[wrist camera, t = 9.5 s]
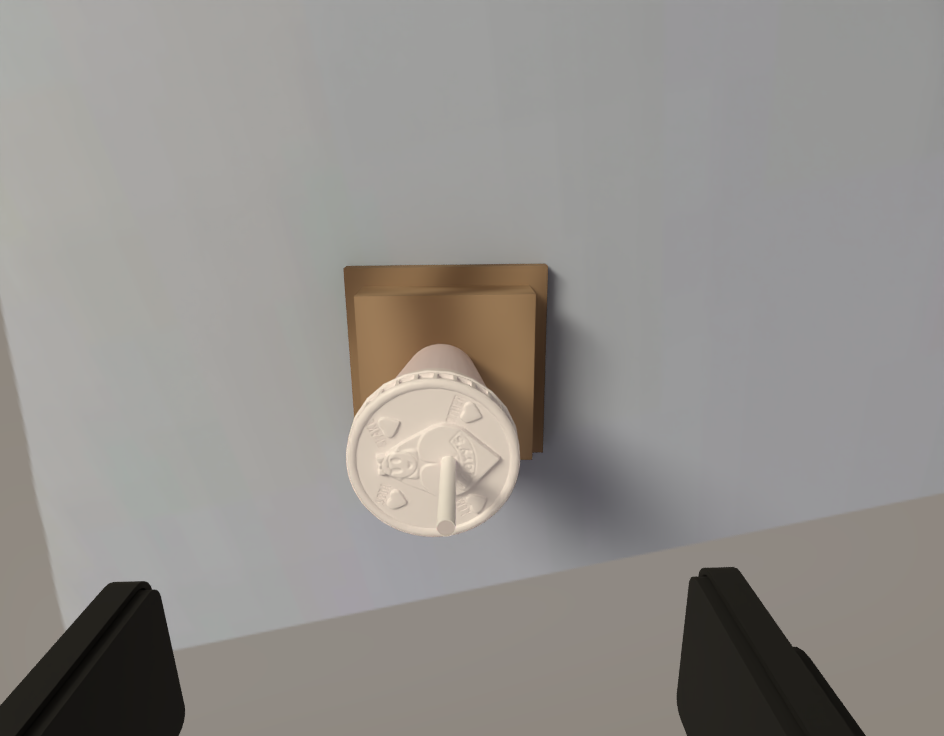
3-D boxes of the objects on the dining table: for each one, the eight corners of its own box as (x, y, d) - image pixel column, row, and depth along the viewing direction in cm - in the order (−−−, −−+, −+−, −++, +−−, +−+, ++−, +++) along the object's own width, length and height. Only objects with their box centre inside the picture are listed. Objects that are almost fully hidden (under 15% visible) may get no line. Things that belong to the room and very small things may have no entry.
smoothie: (505, 431, 31) (539, 614, 18) (385, 439, 31) (330, 627, 18) (500, 313, 30) (534, 419, 16) (372, 321, 30) (299, 433, 16)
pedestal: (545, 263, 33) (556, 273, 29) (540, 445, 36) (550, 475, 32) (346, 266, 33) (331, 276, 29) (359, 448, 36) (347, 479, 32)
